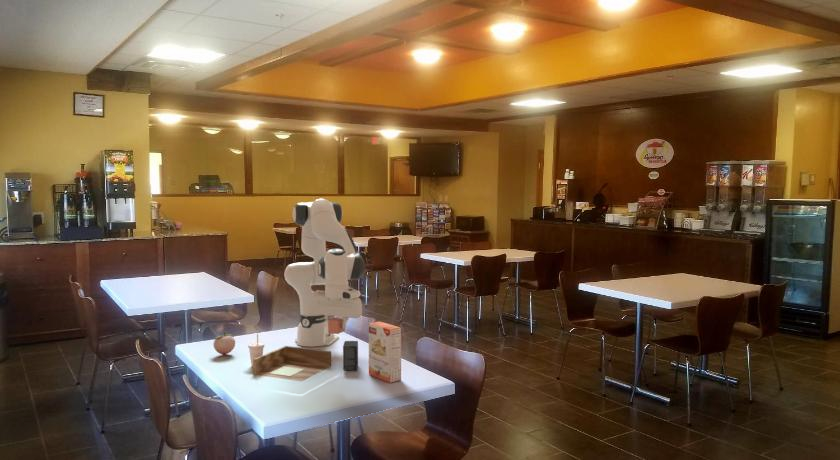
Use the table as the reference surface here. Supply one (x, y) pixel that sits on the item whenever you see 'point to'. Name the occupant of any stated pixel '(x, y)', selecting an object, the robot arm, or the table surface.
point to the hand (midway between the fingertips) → (336, 327)
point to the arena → (292, 362)
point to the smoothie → (255, 350)
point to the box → (350, 355)
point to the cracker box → (385, 351)
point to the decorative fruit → (224, 344)
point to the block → (335, 325)
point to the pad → (286, 371)
